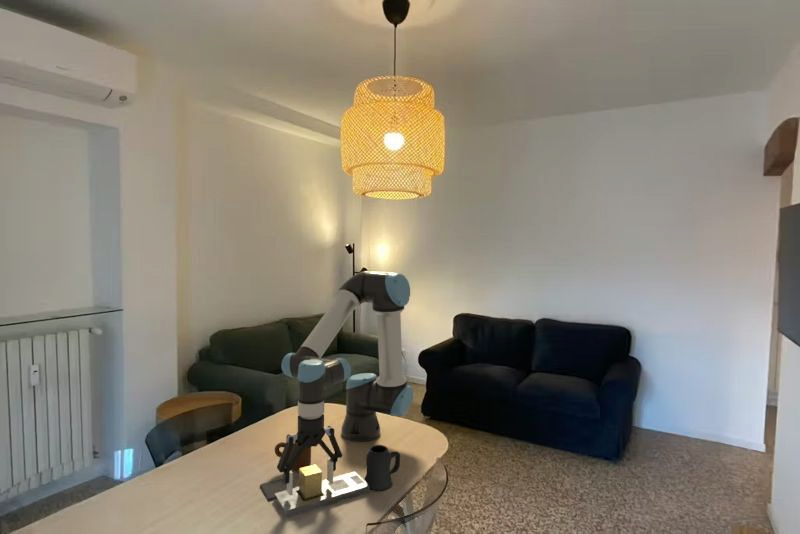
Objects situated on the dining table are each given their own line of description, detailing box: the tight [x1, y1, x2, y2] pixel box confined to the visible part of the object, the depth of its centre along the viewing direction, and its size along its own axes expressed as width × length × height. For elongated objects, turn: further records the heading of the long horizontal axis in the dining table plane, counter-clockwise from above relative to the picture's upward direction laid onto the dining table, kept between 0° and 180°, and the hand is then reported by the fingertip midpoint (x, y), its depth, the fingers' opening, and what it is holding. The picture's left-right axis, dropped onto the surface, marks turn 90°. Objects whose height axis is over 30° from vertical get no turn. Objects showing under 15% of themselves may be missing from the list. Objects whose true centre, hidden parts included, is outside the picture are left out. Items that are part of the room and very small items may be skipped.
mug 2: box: [363, 444, 401, 493], centre depth 146 cm, size 12×9×11 cm
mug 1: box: [274, 439, 312, 472], centre depth 154 cm, size 12×8×9 cm, turn 116°
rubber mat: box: [259, 477, 297, 501], centre depth 141 cm, size 9×9×1 cm
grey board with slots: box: [274, 471, 371, 519], centre depth 138 cm, size 26×10×2 cm, turn 122°
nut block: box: [298, 463, 323, 501], centre depth 136 cm, size 5×5×9 cm
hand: (310, 487), depth 136 cm, fingers open, 12 cm apart
